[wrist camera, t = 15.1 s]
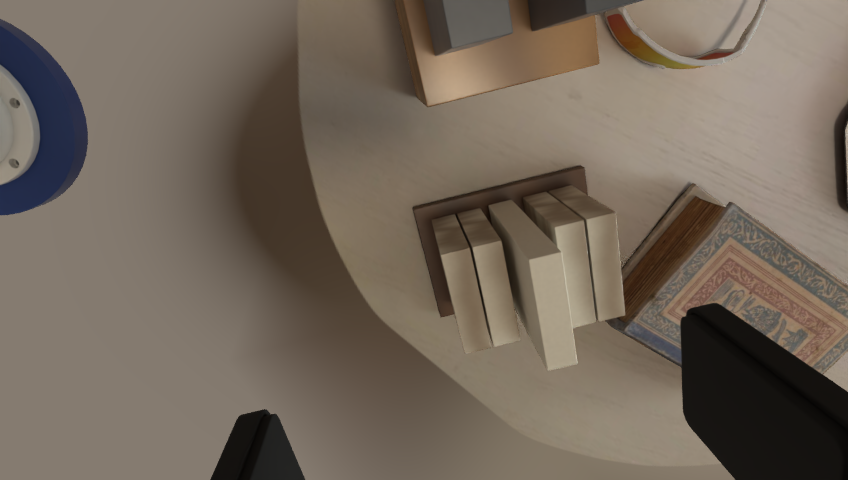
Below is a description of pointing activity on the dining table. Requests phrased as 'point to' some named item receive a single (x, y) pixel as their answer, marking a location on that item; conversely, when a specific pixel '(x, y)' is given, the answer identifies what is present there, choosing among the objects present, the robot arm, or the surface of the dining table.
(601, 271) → the white books
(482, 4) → the pair of grey blocks
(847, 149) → the plate
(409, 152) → the dining table surface
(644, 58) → the sunglasses
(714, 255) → the book
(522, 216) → the white book
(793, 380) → the robot arm
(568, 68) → the wooden toaster block
